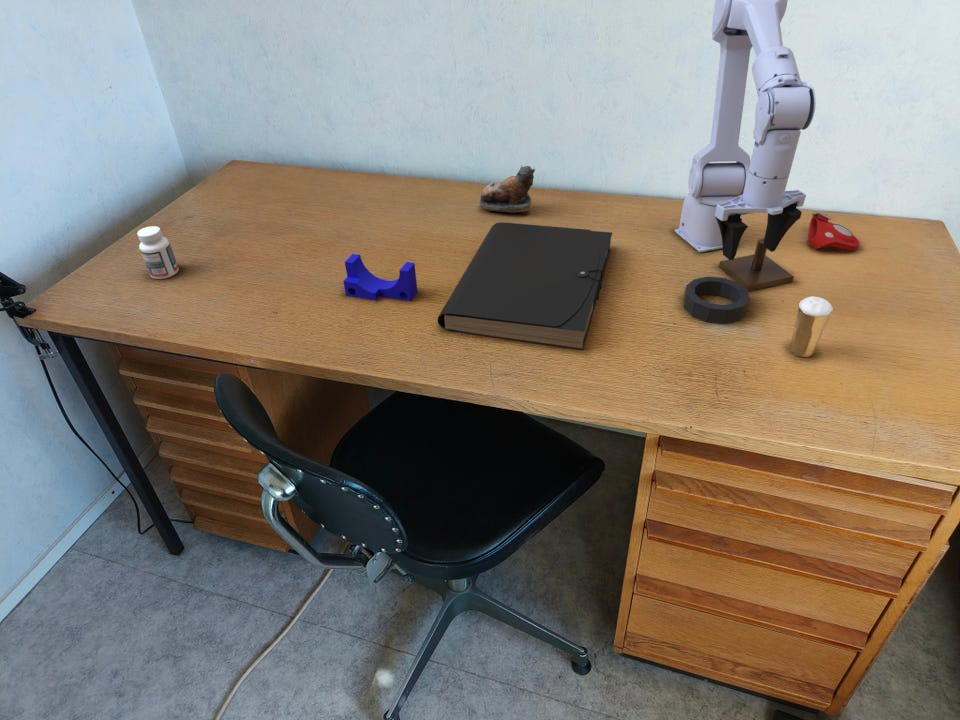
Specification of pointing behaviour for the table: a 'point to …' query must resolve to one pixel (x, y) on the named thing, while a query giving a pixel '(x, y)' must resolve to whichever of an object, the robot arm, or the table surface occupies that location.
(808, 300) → the milkshake
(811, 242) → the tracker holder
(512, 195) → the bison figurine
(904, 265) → the table surface
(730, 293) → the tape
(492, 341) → the table surface
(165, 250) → the pill bottle
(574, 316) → the dark grey book
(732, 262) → the brown peg stand
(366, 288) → the blue cradle bracket
